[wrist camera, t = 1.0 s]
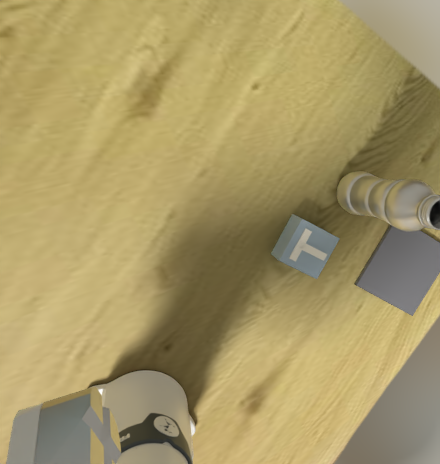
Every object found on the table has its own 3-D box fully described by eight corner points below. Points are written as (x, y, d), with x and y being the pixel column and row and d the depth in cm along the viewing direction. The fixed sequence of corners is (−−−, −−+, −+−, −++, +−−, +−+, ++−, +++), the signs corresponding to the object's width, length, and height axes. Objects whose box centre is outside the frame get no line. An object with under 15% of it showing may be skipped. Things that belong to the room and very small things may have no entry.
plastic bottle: (340, 219, 67) (426, 253, 48) (324, 181, 65) (409, 201, 46) (374, 200, 67) (474, 226, 48) (360, 161, 65) (458, 173, 46)
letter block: (306, 270, 68) (317, 279, 64) (270, 253, 66) (279, 261, 61) (327, 232, 67) (340, 239, 63) (291, 213, 65) (303, 219, 61)
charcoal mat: (410, 314, 74) (412, 315, 73) (354, 284, 70) (356, 285, 69) (450, 250, 72) (452, 251, 72) (395, 215, 69) (398, 216, 68)
